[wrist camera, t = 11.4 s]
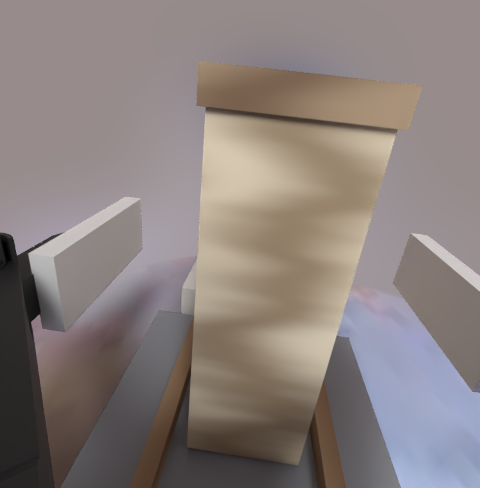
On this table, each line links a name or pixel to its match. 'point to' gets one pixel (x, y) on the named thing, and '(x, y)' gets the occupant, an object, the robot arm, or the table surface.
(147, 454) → the lane rails
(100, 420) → the platform
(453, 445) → the table surface
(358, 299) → the table surface
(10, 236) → the robot arm
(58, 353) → the table surface
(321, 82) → the tan tall block
